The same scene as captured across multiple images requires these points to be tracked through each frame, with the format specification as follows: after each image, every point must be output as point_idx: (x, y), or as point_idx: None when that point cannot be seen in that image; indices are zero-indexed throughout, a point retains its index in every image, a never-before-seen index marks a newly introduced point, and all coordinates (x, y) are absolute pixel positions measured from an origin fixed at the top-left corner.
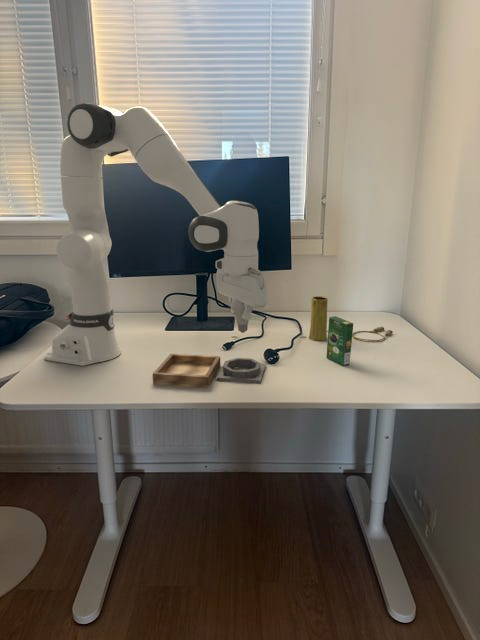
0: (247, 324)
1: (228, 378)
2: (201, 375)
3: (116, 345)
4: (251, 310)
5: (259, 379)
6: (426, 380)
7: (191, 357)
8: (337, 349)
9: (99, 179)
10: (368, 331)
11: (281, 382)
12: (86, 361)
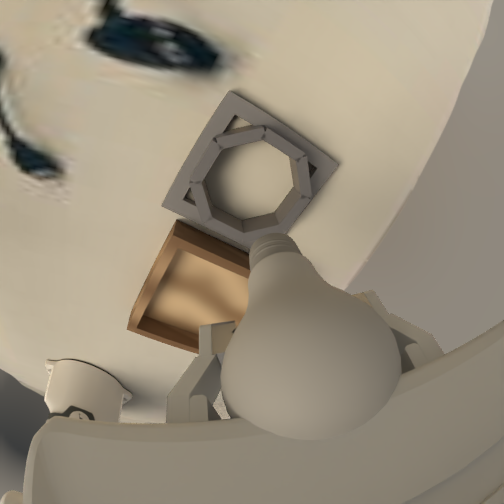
0: (298, 253)
1: (285, 232)
2: None
3: (84, 379)
4: (408, 326)
5: (331, 163)
6: None
7: (151, 296)
8: None
9: None
10: None
11: (356, 110)
12: (128, 396)
